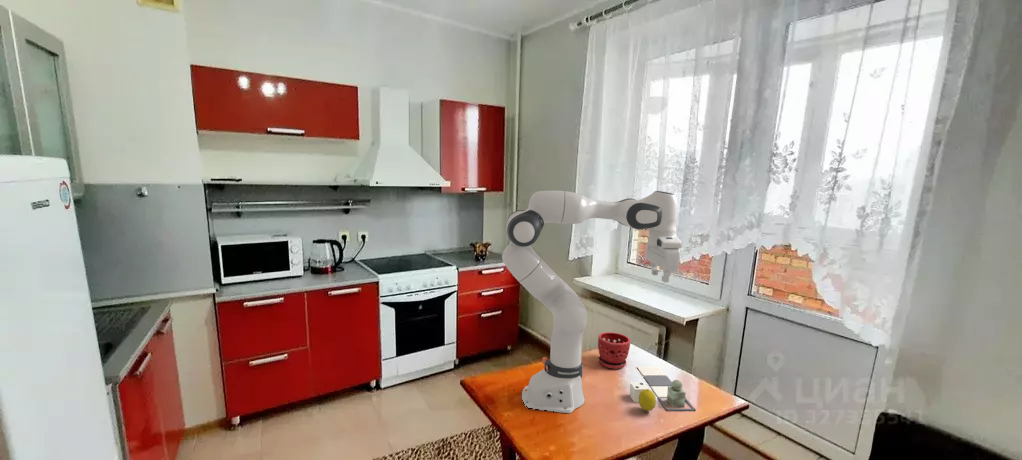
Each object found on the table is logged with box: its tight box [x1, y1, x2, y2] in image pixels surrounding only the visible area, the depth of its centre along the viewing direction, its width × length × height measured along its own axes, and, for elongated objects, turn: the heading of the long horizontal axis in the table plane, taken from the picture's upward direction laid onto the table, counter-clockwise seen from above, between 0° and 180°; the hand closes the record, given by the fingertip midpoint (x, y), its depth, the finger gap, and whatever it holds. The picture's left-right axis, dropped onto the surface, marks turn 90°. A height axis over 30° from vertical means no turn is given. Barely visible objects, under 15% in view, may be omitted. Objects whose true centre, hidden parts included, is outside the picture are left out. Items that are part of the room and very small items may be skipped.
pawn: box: [666, 379, 687, 408], centre depth 144 cm, size 4×4×9 cm
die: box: [629, 381, 649, 403], centre depth 147 cm, size 5×5×5 cm
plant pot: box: [597, 331, 631, 370], centre depth 173 cm, size 13×13×12 cm
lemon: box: [638, 388, 657, 412], centre depth 139 cm, size 6×6×8 cm
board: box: [636, 366, 696, 412], centre depth 156 cm, size 10×32×1 cm, turn 1°
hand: (659, 278), depth 141 cm, fingers open, 8 cm apart
